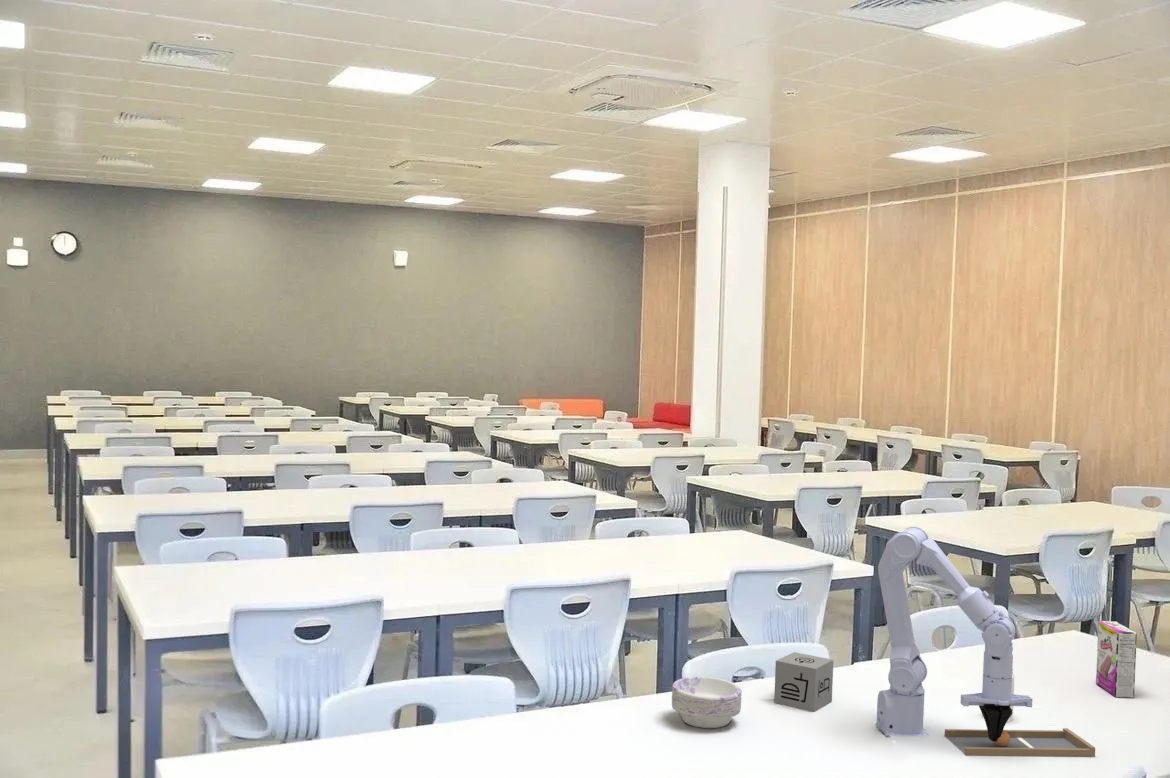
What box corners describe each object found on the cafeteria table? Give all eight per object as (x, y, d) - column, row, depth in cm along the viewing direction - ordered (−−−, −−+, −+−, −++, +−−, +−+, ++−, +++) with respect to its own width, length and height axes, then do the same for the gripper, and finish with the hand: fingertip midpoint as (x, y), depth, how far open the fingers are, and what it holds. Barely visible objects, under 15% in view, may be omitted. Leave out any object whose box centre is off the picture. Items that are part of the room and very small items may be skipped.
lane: (966, 758, 225) (966, 746, 225) (944, 738, 237) (944, 726, 237) (1094, 759, 227) (1095, 747, 227) (1066, 739, 238) (1067, 728, 238)
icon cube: (814, 712, 252) (815, 668, 251) (774, 703, 257) (775, 660, 257) (831, 702, 260) (833, 659, 259) (792, 693, 266) (794, 652, 265)
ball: (993, 737, 229) (1007, 729, 230) (986, 732, 233) (1000, 723, 233) (1001, 752, 230) (1015, 744, 230) (994, 746, 233) (1008, 737, 233)
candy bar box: (1094, 684, 281) (1097, 620, 280) (1114, 685, 281) (1117, 621, 280) (1114, 698, 270) (1117, 631, 269) (1135, 698, 270) (1138, 632, 269)
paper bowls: (738, 736, 234) (739, 699, 234) (666, 729, 237) (668, 693, 237) (742, 714, 249) (743, 679, 249) (675, 707, 252) (676, 673, 252)
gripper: (971, 680, 226) (968, 746, 227) (1040, 681, 227) (1037, 747, 228) (957, 670, 233) (955, 734, 234) (1024, 671, 234) (1022, 735, 235)
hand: (994, 739), depth 231 cm, fingers closed, pressing on ball
